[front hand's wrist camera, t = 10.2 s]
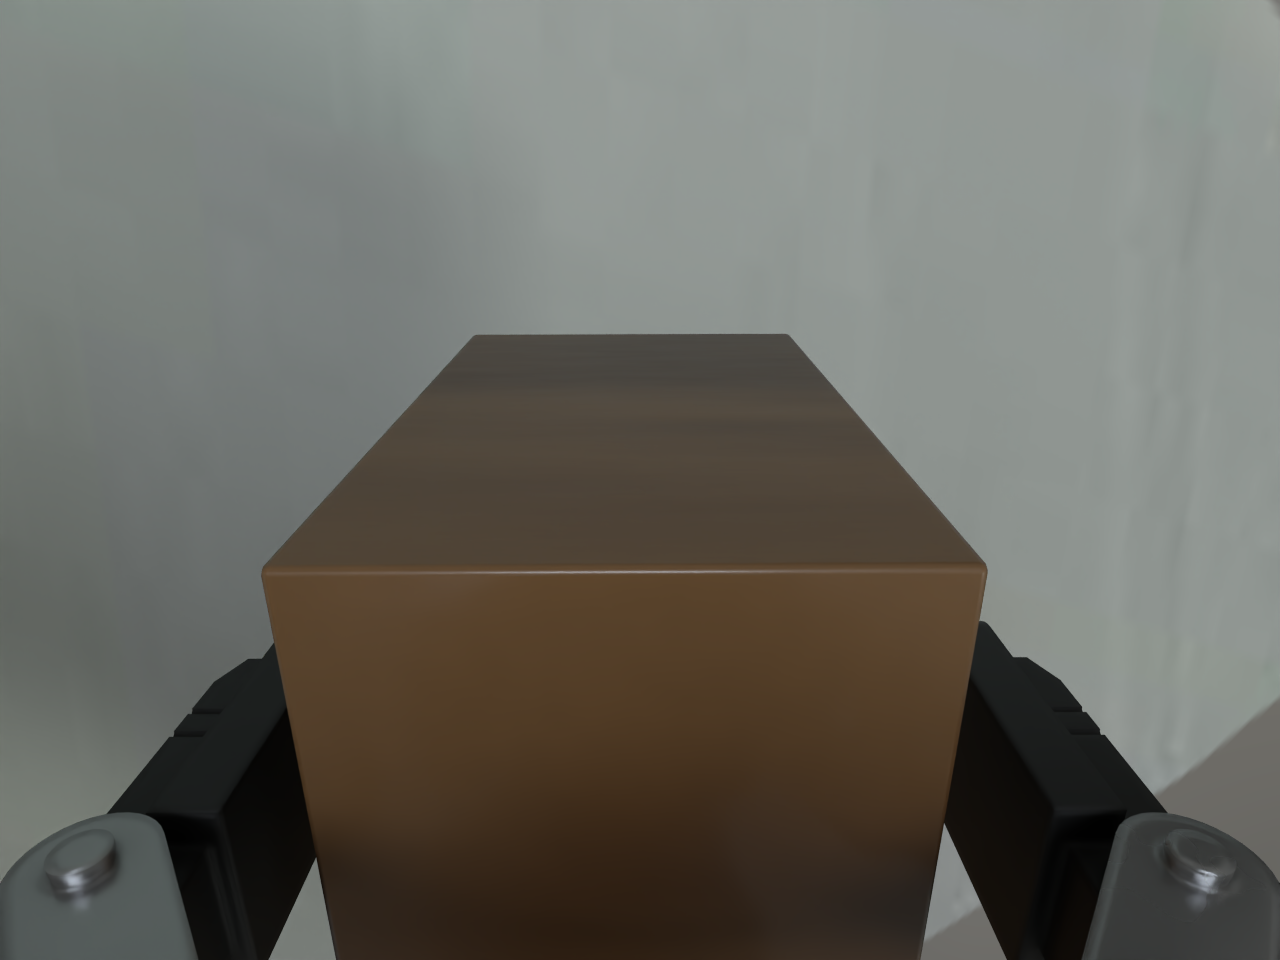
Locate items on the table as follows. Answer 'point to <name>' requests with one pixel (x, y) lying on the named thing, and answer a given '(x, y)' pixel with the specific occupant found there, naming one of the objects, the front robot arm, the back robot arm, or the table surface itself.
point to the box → (626, 663)
